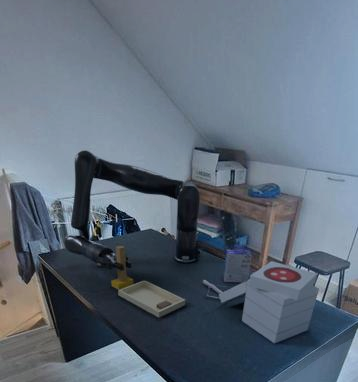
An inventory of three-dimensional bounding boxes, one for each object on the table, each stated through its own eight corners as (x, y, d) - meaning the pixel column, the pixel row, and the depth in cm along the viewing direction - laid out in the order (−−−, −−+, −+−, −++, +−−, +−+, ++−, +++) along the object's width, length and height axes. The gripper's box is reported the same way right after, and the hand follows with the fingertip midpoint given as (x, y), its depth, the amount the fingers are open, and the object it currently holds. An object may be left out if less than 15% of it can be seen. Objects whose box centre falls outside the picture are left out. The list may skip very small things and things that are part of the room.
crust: (156, 307, 115) (156, 304, 115) (166, 303, 118) (166, 300, 118) (162, 310, 114) (162, 307, 113) (172, 306, 117) (172, 303, 116)
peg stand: (111, 287, 129) (108, 247, 120) (126, 282, 133) (124, 243, 125) (119, 291, 126) (116, 250, 118) (133, 286, 131) (131, 246, 122)
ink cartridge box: (246, 277, 141) (251, 244, 133) (248, 283, 136) (253, 248, 128) (223, 276, 141) (226, 243, 133) (224, 282, 136) (228, 248, 128)
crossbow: (242, 298, 127) (243, 293, 126) (215, 306, 121) (216, 301, 120) (216, 279, 137) (216, 275, 136) (190, 286, 132) (191, 281, 130)
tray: (118, 296, 123) (118, 290, 121) (144, 286, 131) (144, 280, 129) (158, 319, 110) (158, 312, 109) (185, 306, 118) (185, 299, 117)
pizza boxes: (252, 293, 128) (259, 248, 119) (316, 331, 107) (332, 279, 97) (212, 305, 119) (216, 257, 110) (273, 349, 98) (286, 294, 88)
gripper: (82, 248, 127) (110, 261, 117) (113, 241, 135) (141, 252, 125) (85, 267, 131) (112, 281, 121) (114, 258, 139) (141, 271, 129)
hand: (126, 266), depth 123 cm, fingers open, 3 cm apart
